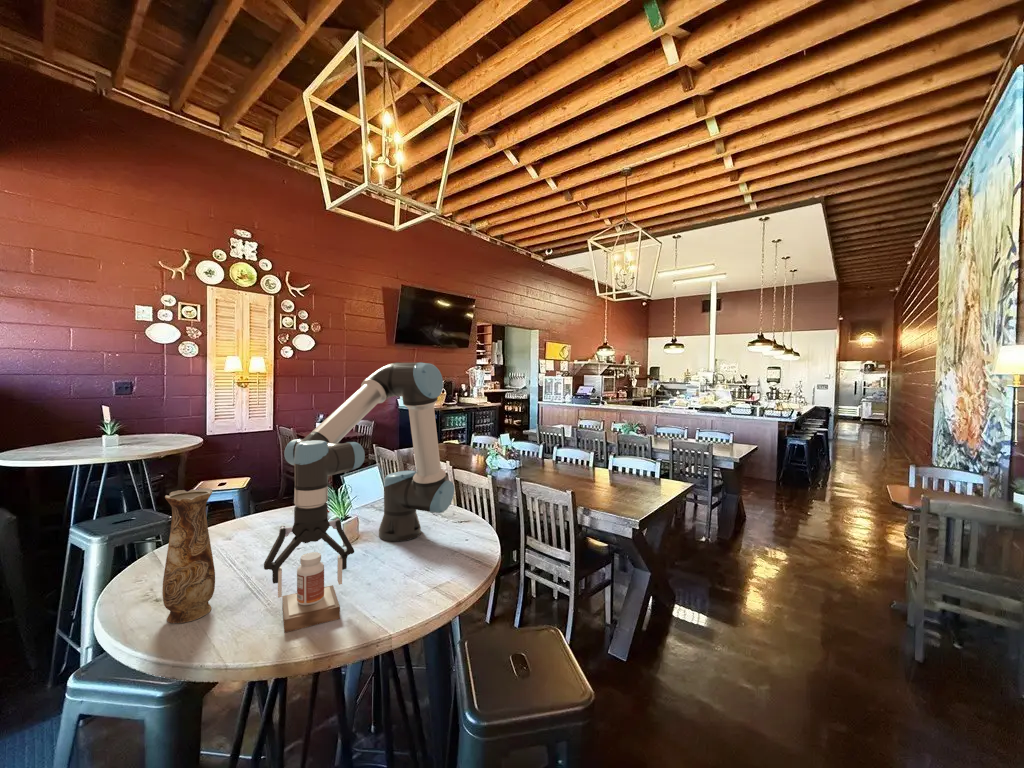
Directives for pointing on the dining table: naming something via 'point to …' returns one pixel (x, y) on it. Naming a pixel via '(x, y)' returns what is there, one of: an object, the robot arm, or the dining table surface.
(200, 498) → the vase
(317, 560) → the pill bottle
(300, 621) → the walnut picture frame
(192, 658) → the dining table surface
